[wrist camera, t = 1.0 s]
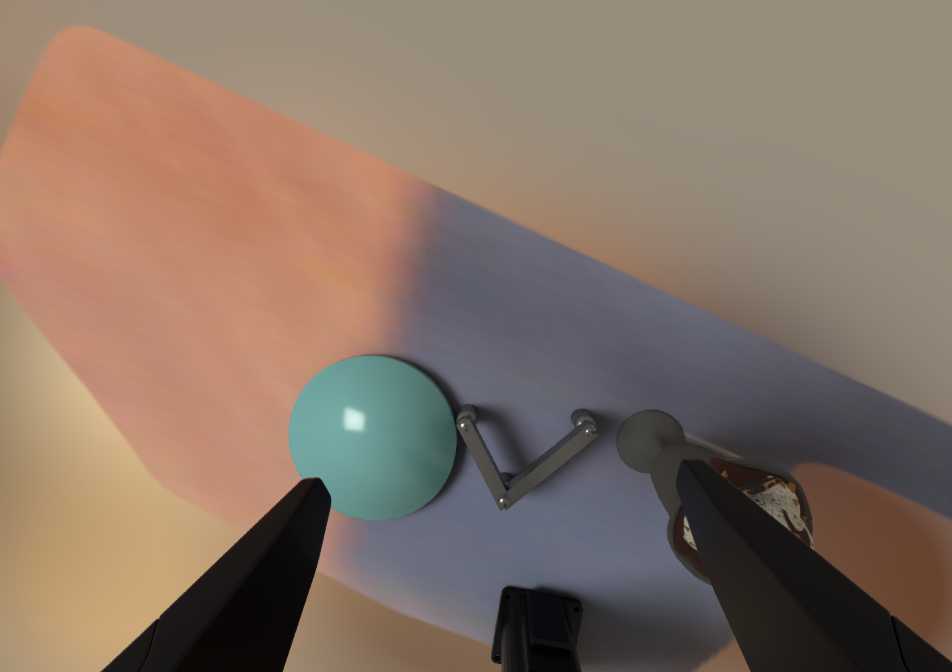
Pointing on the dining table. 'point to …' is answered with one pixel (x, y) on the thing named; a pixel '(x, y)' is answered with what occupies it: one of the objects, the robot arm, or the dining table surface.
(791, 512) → the sundae
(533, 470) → the jointed flat metal bars
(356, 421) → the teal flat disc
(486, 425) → the dining table surface
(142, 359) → the dining table surface
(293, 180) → the dining table surface
